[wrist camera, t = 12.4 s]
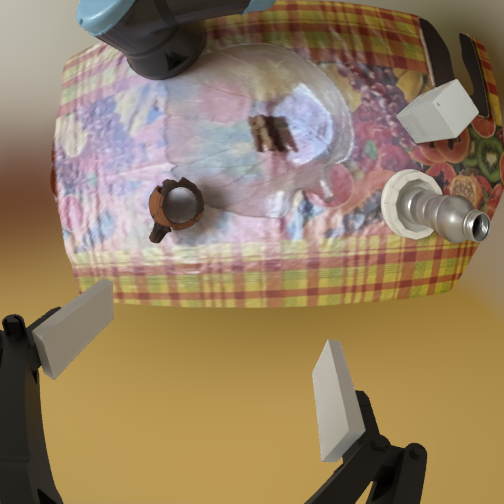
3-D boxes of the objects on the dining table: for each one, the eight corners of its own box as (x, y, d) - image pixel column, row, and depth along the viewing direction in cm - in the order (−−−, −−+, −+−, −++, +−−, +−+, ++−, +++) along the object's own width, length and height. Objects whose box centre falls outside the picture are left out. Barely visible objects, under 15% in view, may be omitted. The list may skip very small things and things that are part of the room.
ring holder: (389, 159, 41) (397, 158, 37) (442, 182, 40) (451, 184, 37) (372, 226, 44) (378, 230, 41) (425, 244, 44) (433, 249, 41)
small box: (415, 144, 39) (456, 139, 27) (394, 116, 38) (430, 101, 26) (439, 121, 37) (480, 112, 25) (419, 94, 36) (456, 77, 24)
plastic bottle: (430, 212, 41) (501, 239, 22) (402, 228, 43) (467, 264, 24) (419, 180, 40) (492, 191, 21) (390, 195, 42) (457, 214, 22)
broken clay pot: (160, 169, 45) (166, 167, 38) (204, 191, 50) (219, 192, 43) (133, 230, 46) (134, 239, 39) (178, 249, 50) (187, 260, 43)
